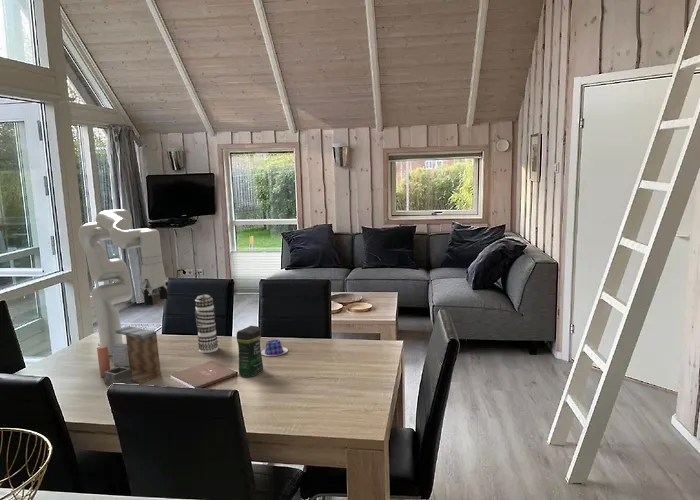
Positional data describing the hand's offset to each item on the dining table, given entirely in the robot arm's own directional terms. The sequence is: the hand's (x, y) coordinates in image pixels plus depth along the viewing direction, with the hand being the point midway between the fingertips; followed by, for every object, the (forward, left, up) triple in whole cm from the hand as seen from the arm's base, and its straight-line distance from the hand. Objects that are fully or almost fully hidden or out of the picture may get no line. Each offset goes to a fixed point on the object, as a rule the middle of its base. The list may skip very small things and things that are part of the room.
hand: (156, 301), depth 223 cm
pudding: (+29, +36, -29) cm, 54 cm away
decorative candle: (-2, +26, -29) cm, 39 cm away
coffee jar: (+37, +13, -29) cm, 49 cm away
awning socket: (-4, -14, -28) cm, 32 cm away
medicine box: (-21, -4, -29) cm, 36 cm away
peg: (-16, -16, -28) cm, 36 cm away
